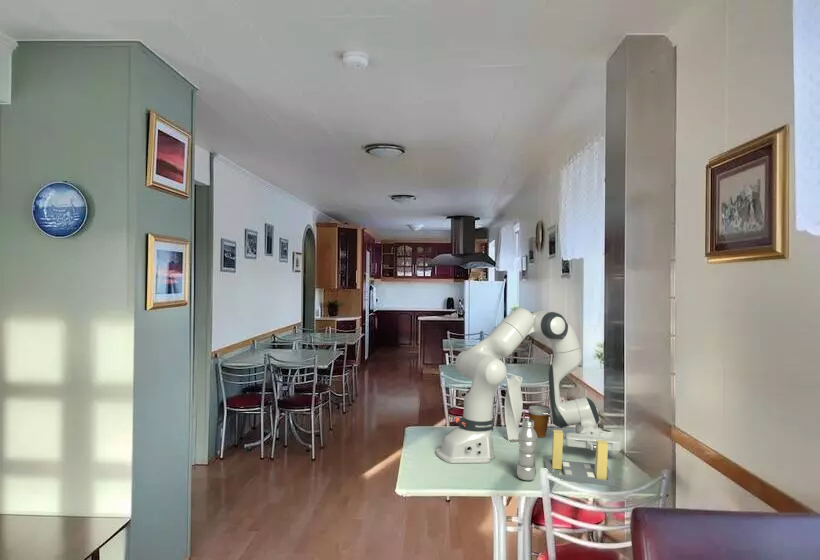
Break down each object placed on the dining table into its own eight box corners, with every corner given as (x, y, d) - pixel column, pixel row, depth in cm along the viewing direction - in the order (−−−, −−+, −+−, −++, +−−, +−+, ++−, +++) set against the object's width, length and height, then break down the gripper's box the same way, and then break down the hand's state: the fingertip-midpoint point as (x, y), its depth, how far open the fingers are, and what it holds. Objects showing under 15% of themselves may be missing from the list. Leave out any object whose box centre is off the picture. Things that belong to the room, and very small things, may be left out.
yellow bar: (606, 482, 181) (608, 444, 180) (596, 481, 181) (598, 443, 181) (604, 477, 185) (606, 440, 184) (594, 476, 185) (596, 439, 185)
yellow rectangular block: (561, 469, 191) (563, 433, 191) (552, 468, 192) (554, 432, 191) (560, 465, 195) (562, 430, 195) (551, 464, 196) (553, 429, 195)
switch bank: (614, 486, 178) (615, 481, 178) (547, 478, 182) (547, 473, 182) (606, 469, 194) (606, 464, 194) (544, 462, 198) (544, 458, 198)
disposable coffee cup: (541, 440, 225) (542, 411, 225) (522, 434, 232) (523, 407, 232) (553, 436, 231) (554, 408, 231) (535, 430, 238) (536, 404, 238)
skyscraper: (507, 442, 220) (510, 375, 219) (499, 436, 228) (502, 371, 227) (525, 441, 222) (529, 375, 221) (517, 435, 230) (520, 371, 229)
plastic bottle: (539, 479, 181) (542, 421, 181) (529, 484, 176) (532, 424, 176) (522, 473, 186) (525, 416, 185) (512, 478, 181) (515, 420, 180)
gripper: (563, 426, 212) (566, 437, 198) (617, 431, 208) (624, 442, 194) (562, 442, 212) (565, 454, 198) (616, 447, 208) (623, 459, 194)
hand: (595, 448), depth 196 cm, fingers closed
